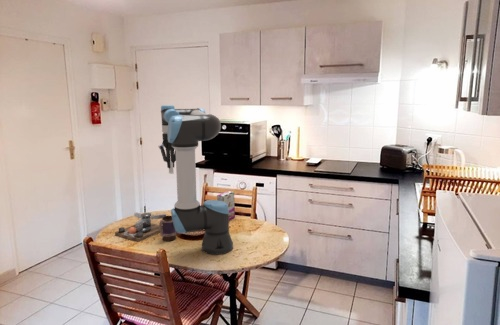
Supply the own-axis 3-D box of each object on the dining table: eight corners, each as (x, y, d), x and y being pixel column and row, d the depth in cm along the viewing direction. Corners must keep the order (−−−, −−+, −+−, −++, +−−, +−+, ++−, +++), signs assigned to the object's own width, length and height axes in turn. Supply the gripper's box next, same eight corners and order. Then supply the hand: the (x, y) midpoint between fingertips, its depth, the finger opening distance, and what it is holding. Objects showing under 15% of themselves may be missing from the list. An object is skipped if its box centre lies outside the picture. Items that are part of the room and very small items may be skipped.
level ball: (138, 233, 186) (137, 226, 185) (132, 236, 183) (131, 228, 182) (133, 232, 188) (132, 225, 187) (127, 234, 185) (126, 227, 184)
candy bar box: (228, 216, 217) (228, 190, 214) (235, 217, 214) (234, 191, 212) (217, 221, 208) (216, 194, 205) (224, 223, 205) (223, 196, 202)
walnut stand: (166, 229, 197) (165, 223, 196) (138, 241, 180) (137, 235, 179) (143, 223, 206) (143, 218, 205) (115, 235, 189) (114, 229, 188)
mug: (168, 235, 188) (167, 213, 186) (179, 237, 185) (177, 215, 183) (155, 242, 179) (153, 219, 177) (166, 244, 176) (165, 221, 174)
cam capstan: (150, 219, 207) (149, 206, 206) (168, 226, 197) (167, 212, 195) (121, 229, 193) (119, 215, 192) (137, 236, 183) (136, 221, 181)
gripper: (176, 131, 206) (178, 170, 211) (155, 133, 198) (157, 173, 203) (182, 132, 201) (184, 172, 205) (161, 133, 193) (163, 176, 197)
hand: (171, 173), depth 204 cm, fingers closed
